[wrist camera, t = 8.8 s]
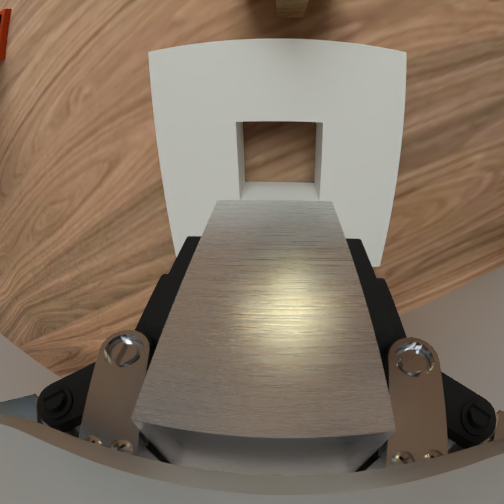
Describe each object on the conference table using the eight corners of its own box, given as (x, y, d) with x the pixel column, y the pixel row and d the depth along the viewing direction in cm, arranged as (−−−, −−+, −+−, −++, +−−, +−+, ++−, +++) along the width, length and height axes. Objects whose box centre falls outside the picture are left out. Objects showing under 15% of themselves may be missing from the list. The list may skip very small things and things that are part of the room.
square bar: (332, 201, 10) (395, 429, 3) (321, 290, 12) (340, 484, 6) (217, 199, 10) (130, 419, 4) (226, 288, 13) (186, 477, 6)
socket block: (387, 54, 18) (406, 52, 15) (369, 242, 28) (379, 266, 25) (167, 54, 20) (148, 51, 17) (188, 239, 30) (177, 262, 26)
